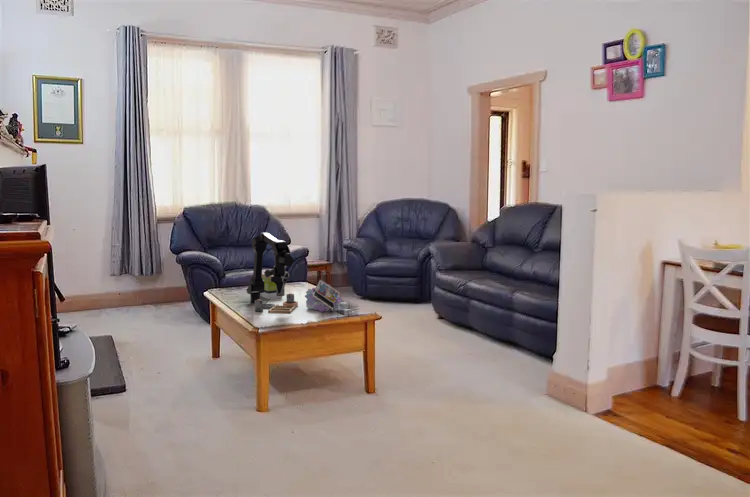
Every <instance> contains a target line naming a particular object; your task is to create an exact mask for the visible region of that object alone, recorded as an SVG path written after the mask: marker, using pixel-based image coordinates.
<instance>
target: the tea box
mask: <svg viewBox="0 0 750 497" xmlns="http://www.w3.org/2000/svg"><path fill="white" fill-rule="evenodd" d="M264 272H265V271H264ZM264 272H263V271H262V279H263V281H264V282H265V283H264V292H263V293H260V297H262V298H264V299H267V300H273V299H274V300H275V299H280V298H283V296H276V284H275V283H274V282H271V278H272V277H273V275H272V276H269V277H267V278H266V276H265V275H264Z"/></svg>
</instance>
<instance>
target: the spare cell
mask: <svg viewBox="0 0 750 497" xmlns="http://www.w3.org/2000/svg"><path fill="white" fill-rule="evenodd" d="M263 304H264V300H263V299H261V298H260V299H258V300H255V303H254V312H255V313H262V312H264V310H263Z"/></svg>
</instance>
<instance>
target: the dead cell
mask: <svg viewBox="0 0 750 497" xmlns="http://www.w3.org/2000/svg"><path fill="white" fill-rule="evenodd" d="M285 295H286V301H287V303H294V301H295V294H294V293H291V292H290V293H286V294H285Z"/></svg>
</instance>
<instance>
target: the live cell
mask: <svg viewBox="0 0 750 497" xmlns="http://www.w3.org/2000/svg"><path fill="white" fill-rule="evenodd" d="M285 287H286V284H285V285H284V284H283V287H282V290H281V293H278V290H277V286H276V296H282V297H284V296H285V295H286V294H285Z"/></svg>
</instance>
